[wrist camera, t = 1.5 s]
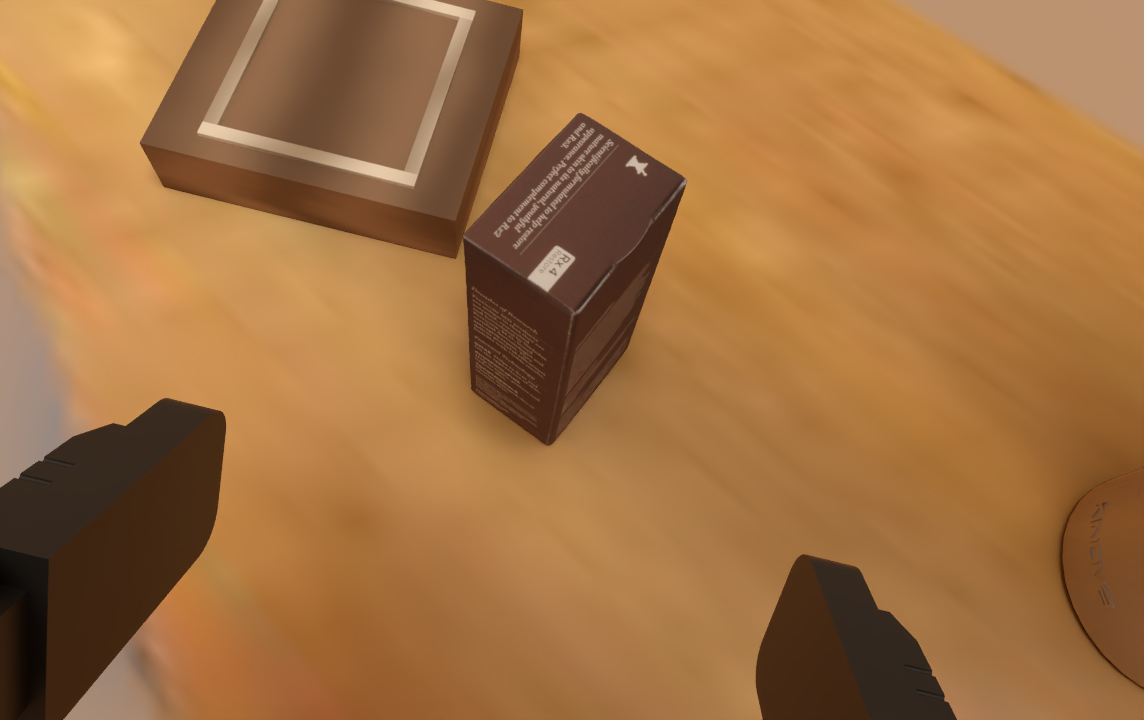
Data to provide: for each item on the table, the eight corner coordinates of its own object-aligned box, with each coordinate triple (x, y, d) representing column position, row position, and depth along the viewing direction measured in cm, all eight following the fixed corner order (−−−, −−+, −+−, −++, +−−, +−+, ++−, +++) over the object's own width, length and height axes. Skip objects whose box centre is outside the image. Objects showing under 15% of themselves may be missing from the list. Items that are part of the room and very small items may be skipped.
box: (545, 288, 36) (581, 102, 26) (629, 347, 36) (703, 182, 25) (458, 388, 34) (456, 231, 23) (546, 453, 34) (587, 323, 23)
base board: (518, 56, 41) (523, 6, 39) (455, 258, 37) (455, 218, 34) (262, -9, 41) (247, -64, 38) (163, 186, 36) (137, 139, 33)
